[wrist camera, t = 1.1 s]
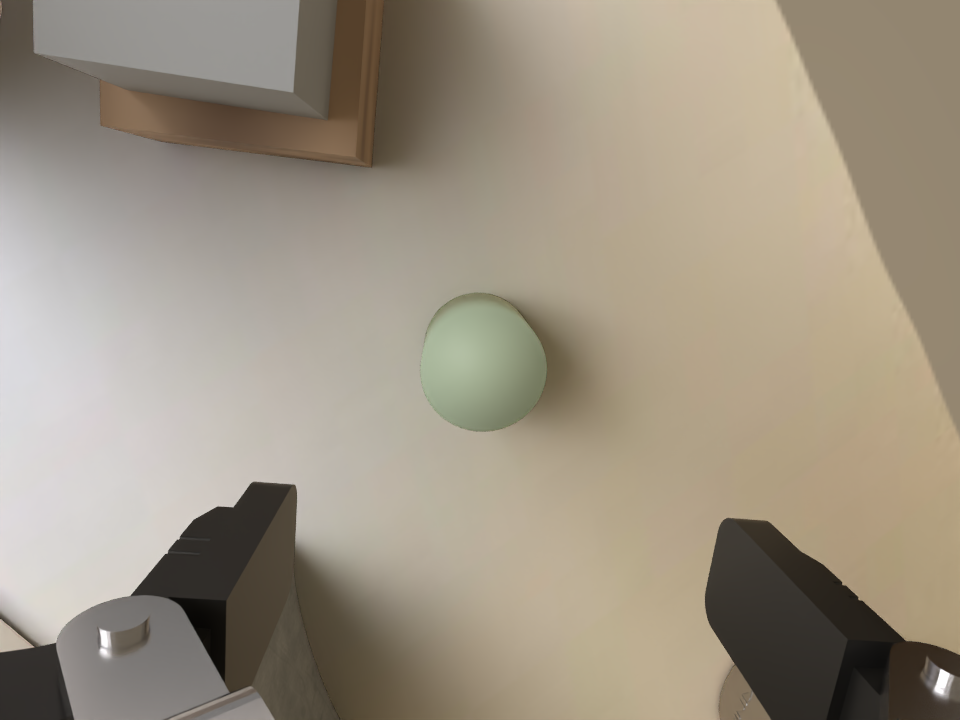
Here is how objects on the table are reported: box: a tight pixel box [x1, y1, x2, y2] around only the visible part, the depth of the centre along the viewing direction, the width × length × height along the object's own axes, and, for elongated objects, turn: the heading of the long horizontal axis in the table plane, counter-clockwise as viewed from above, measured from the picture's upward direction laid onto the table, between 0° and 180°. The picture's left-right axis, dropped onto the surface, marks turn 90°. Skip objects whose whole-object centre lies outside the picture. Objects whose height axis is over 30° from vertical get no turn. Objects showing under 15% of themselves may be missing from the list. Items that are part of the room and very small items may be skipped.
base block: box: [100, 0, 384, 167], centre depth 24 cm, size 9×9×5 cm
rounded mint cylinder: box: [420, 293, 547, 432], centre depth 27 cm, size 5×5×5 cm
